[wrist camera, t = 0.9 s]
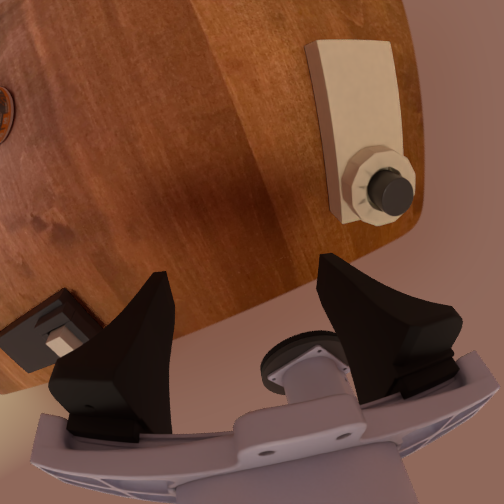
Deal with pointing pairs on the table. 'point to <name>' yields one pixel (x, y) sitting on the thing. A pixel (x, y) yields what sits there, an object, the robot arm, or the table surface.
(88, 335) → the power strip
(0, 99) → the pill bottle
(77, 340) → the switch
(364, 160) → the dial base
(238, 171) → the table surface
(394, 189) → the dial knob
